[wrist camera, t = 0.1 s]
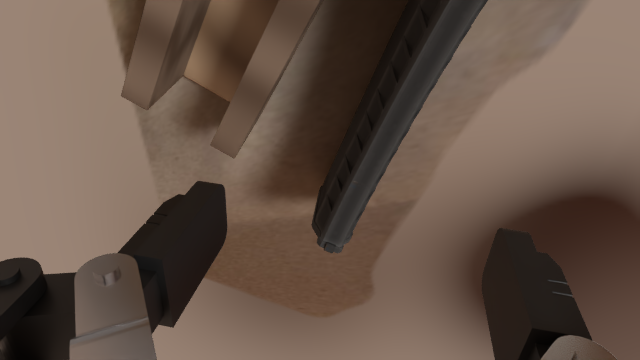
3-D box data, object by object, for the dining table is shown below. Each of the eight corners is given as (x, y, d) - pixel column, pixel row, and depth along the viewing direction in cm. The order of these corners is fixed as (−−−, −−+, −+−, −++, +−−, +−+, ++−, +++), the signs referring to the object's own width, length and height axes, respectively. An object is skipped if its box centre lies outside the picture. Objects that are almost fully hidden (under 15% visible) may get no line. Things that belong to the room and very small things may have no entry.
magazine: (328, 282, 36) (651, -74, 11) (291, 268, 36) (537, -127, 11) (371, 132, 45) (596, -238, 21) (342, 120, 45) (535, -268, 20)
